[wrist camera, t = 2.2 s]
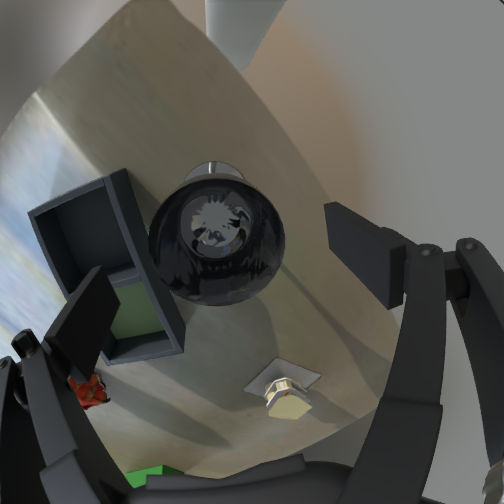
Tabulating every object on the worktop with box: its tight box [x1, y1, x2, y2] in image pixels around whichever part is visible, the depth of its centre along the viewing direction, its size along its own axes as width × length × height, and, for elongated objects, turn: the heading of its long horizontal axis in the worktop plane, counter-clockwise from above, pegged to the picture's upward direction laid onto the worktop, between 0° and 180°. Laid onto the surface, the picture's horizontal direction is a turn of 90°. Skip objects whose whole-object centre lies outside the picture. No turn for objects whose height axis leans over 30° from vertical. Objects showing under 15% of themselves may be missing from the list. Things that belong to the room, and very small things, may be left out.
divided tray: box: [27, 168, 186, 366], centre depth 29 cm, size 11×21×5 cm, turn 13°
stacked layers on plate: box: [243, 357, 321, 420], centre depth 40 cm, size 10×9×6 cm
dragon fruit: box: [68, 374, 111, 410], centre depth 34 cm, size 8×8×12 cm
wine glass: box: [148, 161, 285, 306], centre depth 23 cm, size 8×8×15 cm
